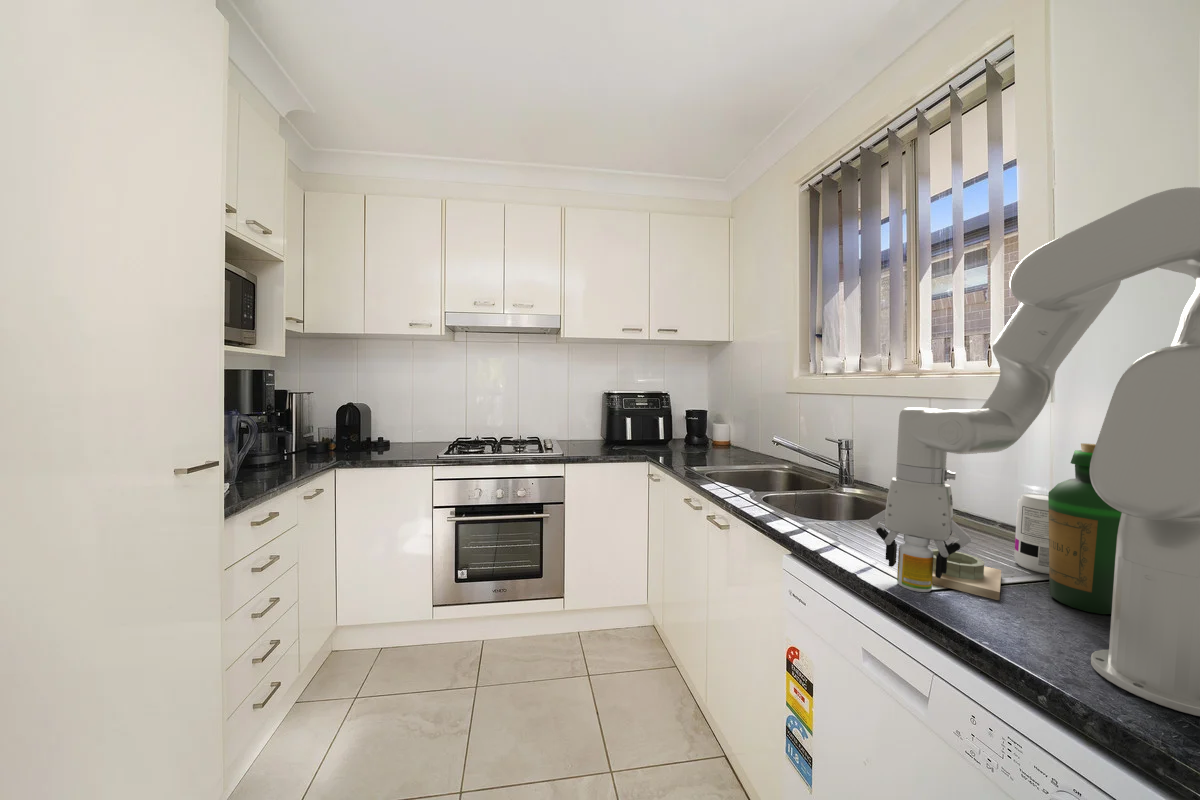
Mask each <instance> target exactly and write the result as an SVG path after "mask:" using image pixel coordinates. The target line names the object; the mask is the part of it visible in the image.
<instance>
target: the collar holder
mask: <svg viewBox="0 0 1200 800" xmlns="http://www.w3.org/2000/svg"><path fill="white" fill-rule="evenodd" d="M930 549H931V550H932V551H933V553H934V557H933V575H932V585H936V586H939V587H944V588H947V589H951V590H956V591H960V592H962V593H967V594H972V595H976V596H979V597H983V598H988V599H992V600H995V601H1000V598H1001V597H1000V593H1001V582H1002V581H1001V580H1002V569H998V568H995V567H990V566H987V565H986V566H985V561H984V560H982V559H981V558H979V557H976V556H974V555H971V554H968V553H965V552H962V551H961V552H960V551H956V552H954V553H952V554H950V555H949V556H948V557H947V572H946V574H945V573H942V575H941V578H937V577H935V574H936V557H937V554H938V552H939V550H938V548H930Z"/></svg>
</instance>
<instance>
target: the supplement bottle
mask: <svg viewBox="0 0 1200 800" xmlns="http://www.w3.org/2000/svg"><path fill="white" fill-rule="evenodd" d="M930 541H931V540H930V539H925V538H920V537H915V536H910V535H905V534H903V543H900V545H899V546H898V558H897V574H896V575H897V576H896V577H897V578H896V581H897V584H898V585H899V586H900V587H902V588H904V589H906V590H909V591H913V592H918V593H929V592H931V591H932V590H933V584H932V575H933V557H934V553H933V551H932V550H931V549H932V548H930V547H929V546H930Z"/></svg>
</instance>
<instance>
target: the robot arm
mask: <svg viewBox="0 0 1200 800" xmlns="http://www.w3.org/2000/svg"><path fill="white" fill-rule="evenodd" d="M1157 268H1158V269H1162V270H1167V271H1170V272H1175V273H1179V274H1184V275H1188V276H1190V277H1192V278H1193V279H1195V289H1194V291H1193V293H1192V295H1191V296H1190V298H1189V299H1188V301H1187V303H1186V304H1185V305H1184V308H1183V311H1182V313H1181V315H1180V318H1179V323H1178V325H1177V329H1176V332H1175V333H1174V336H1173V339H1172V342H1171V344H1170V346H1166V347H1162V348H1158V349H1157V350H1156V349H1155V350H1153V351H1151V352H1148V353H1146V354H1144V355H1142V357H1141V356H1140V357H1139V358H1138V359H1137V360H1135V361H1134V362H1132V364H1130V365H1129V367H1128V368H1127V369H1126V370H1125V372H1123V373H1122V375H1121V377H1120V378H1119V380H1118V381H1117V384H1116V386H1115V389H1114V390H1113V393H1112V396H1111V398H1110V402H1109V405H1108V408H1107V410H1106V414H1105V417H1104V420H1103V423H1102V425H1101V427H1100V428H1101V429H1100V431H1099V434H1098V437H1097V439H1096V443H1095V444H1096V446H1095V448H1094V452H1093V455H1092V458H1091V463H1090V480H1091V483H1092V486H1093V488H1094V489H1095V491H1096V493H1097V494H1098V495H1099V497H1100V498H1101V499H1102V500H1103V501H1104V502H1106V503H1107V504H1108V505H1109V506H1111V507H1112V508H1114V509H1116V510H1118V511H1120V512H1122V514H1121V518H1120V522H1119V527H1118V534H1117V544H1116V556H1115V571H1114V585H1113V599H1112V614H1110V615H1111V616H1110V627H1109V628H1110V630H1109V647H1108V649H1100V650H1095V651H1094V652H1092V653H1091V656H1090V665H1091V666H1092V668H1093V670H1095V671H1096V672H1097V673H1098V674H1099V675H1100V676H1101V677H1103V678H1104V679H1105V680H1107V681H1108V682H1110V683H1112V684H1113V685H1115V686H1117V687H1119V688H1120V689H1122V690H1124V691H1126V692H1128V693H1131V694H1133V695H1135V696H1137V697H1139V698H1142V699H1144V700H1147V701H1150V702H1152V703H1153V704H1154V703H1155V704H1158V705H1160V706H1162V707H1165V708H1169V709H1172V710H1174V711H1178V712H1181V713H1184V714H1187V715H1188V714H1189V715H1193V716H1196V717H1200V187H1199V186H1198V187H1194V186H1192V187H1191V186H1190V187H1189V186H1184V187H1177V188H1172V189H1167V190H1162V191H1160V192H1155V193H1153V194H1151V195H1148V196H1145V197H1142V198H1141V199H1138V200H1136V201H1134V202H1131V203H1130V204H1127V205H1125V206H1122V207H1120V208H1118V209H1116V210H1115V211H1112V212H1110V213H1108V214H1106V215H1104V216H1102V217H1100V218H1097V219H1096V220H1093V221H1091V222H1089V223H1087V224H1085V225H1082V226H1081V227H1078V228H1077V229H1073V230H1072V231H1070V232H1067V233H1066V234H1063V235H1061V236H1059V237H1057V238H1055V239H1053V240H1052V241H1051V240H1050V241H1049V242H1048V243H1045V244H1044V245H1041V246H1039V247H1038V248H1036V249H1035V250H1033V251H1031V252H1030V253H1029V254H1027V255H1026V256H1025V257H1024V258H1022V259H1021V261H1020V262H1019V263H1017V264H1016V266H1015V268H1014V269H1013V271H1012V272H1011V276H1010V279H1009V289H1010V292H1011V294H1012V296H1013V297H1014V298H1015V299H1016V300H1017V301H1018V302H1019V303H1020V304H1019V306H1018V307H1017V309H1016V310H1015V312H1014V313H1013V314H1012V316H1011V317H1010V318H1009V320H1008V322H1007V323H1006V325H1005V326H1004V327H1003V329H1002V330H1001V332H1000V333H999V335H998V336H997V338H996V339H995V340H994V342H993V344H992V348H991V349H992V352H993V354H994V357H995V359H996V361H997V364H998V365H999V366H998V367H999V376H998V377H999V378H998V381H997V384H996V386H995V388H994V389H993V391H992V392H991V394H990V396H989V397H988V398H987V400H986V401H985V403H983V405H982V406H981V407H980V408H966V409H964V408H961V409H956V408H955V409H945V410H943V409H940V408H934V407H933V408H931V407H905V408H903V409H901V411H900V413H899V416H898V432H897V433H898V434H897V446H896V447H897V450H896V471H895V476H894V477H892V478H891V481H890V484H889V487H888V491H887V497H886V503H885V504H886V505H885V509H884V510H882V511H880V512H878V513H877V514H875V515H873V516H871V517H870V518H869V519H868V523H869V524H870V526H871V527H872V528H873V529H874V530H875V532H876V534H877V535H878V536H879V537H880V538H881V539H882V540H883V543H884V544H885V560H886V561H888V567H891V568H893V567H894V566H895V565H896V563H897V551H898V550H897V549H898V544H897V542H896V540H895V539H896V538H897V537H898V535H899V534H900V535H904V534H905V535H910V536H915V537H920V538H925V539H930V541H934V543H935V546H936V549H938V550H939V552H938V554H937V557H936V574H935V577H937V578H941V575H942V573H945V574H946V572H947V557H948V556H949V555H950V554H952V553H954V552H956V551H957V552H959V550H960V549H962V548H964V547H966V546H967V545H968V544H970V543H971V542H972V540H973V539H972V537H971V535H970V534H968V533H967V532H966V531H965V530H964V529H963V528H962V527H961V526H959V524H958V523H956V522H955V521H954V519H953V517H954V515H953V514H954V511H953V510H954V508H953V507H954V506H953V502H954V501H953V493H952V488H951V485H950V484H948V483H946V482H948V481H950V480H953V481H955V480H956V477H957V475H956V472H952V471H950V470H949V469H947V457H948V456H947V455H948V453H950V454H954V455H955V454H956V455H976V454H986V453H987V454H989V453H992V454H993V453H999V452H1003V451H1004V450H1006V449H1008V448H1010V447H1012V446H1013V445H1014V444H1016V442H1017V441H1018V440H1019V439H1020V438H1022V436H1023V435H1024V434H1025V433H1026V431H1027V430H1028V429H1029V428H1030V426H1031V425H1032V424H1033V423H1034V422H1035V420H1036V419H1037V418H1038V416H1039V415H1040V414H1041V412H1042V410H1043V409H1044V407H1045V405H1046V403H1047V401H1048V399H1049V396H1050V394H1051V391H1052V388H1053V387H1054V382H1055V378H1056V375H1057V374H1056V373H1057V371H1058V369H1059V368H1060V366H1061V364H1062V363H1063V362H1064V361H1065V359H1066V358H1067V357H1068V355H1069V354H1070V353H1071V351H1073V348H1075V345H1076V344H1077V343H1078V342H1079V341H1080V339H1081V338H1082V337H1083V335H1084V334H1085V333H1086V332H1087V330H1088V329H1089V328H1090V327H1091V326H1092V324H1094V322H1095V321H1096V319H1098V317H1099V315H1100V314H1101V313H1102V311H1103V310H1104V309H1105V308H1106V307H1107V305H1108V304H1109V303H1110V301H1111V300H1112V299H1113V298H1114V296H1115V294H1116V293H1117V291H1118V290H1119V288H1120V287H1121V281H1124V280H1127V279H1129V278H1130V279H1131V278H1133V277H1135V276H1137V275H1140V274H1143V273H1146V272H1148V271H1151V270H1155V269H1157ZM883 520H884V526H885V528H884V526H883V525H882V524H881V523H880V522H881V521H883ZM888 530H889V532H888ZM952 533H954V535H955V536H957V537H958V539H956V540H954V541H953V542H951V543H949V544H948V543H947V541H949V539H950V536H952Z"/></svg>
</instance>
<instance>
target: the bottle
mask: <svg viewBox="0 0 1200 800" xmlns="http://www.w3.org/2000/svg"><path fill="white" fill-rule="evenodd" d="M1095 446H1096V443H1080V448H1081V449H1080V450H1078V449H1076V450H1075V449H1074V452H1073V455H1072V458H1071V461H1070V464H1072V465H1074V473H1075V474H1074V475H1075V478H1068V479H1067V480H1064V481H1062V482H1058V483H1057V484H1056V485H1055V486H1053V488H1052V489H1051V490H1050V491H1049V492H1047V495H1048V507H1049V574H1048V576H1049V577H1048V579H1049V581H1048V582H1049V595H1050V596H1051V597H1052V598H1053V599H1055V600H1056V601H1058V602H1059V603H1060V604H1062V605H1065V606H1067V607H1070V608H1072V609H1076V610H1079V611H1083V612H1086V613H1092V614H1098V615H1111V614H1112V599H1113V585H1114V571H1115V556H1116V544H1117V534H1118V527H1119V522H1120V518H1121V514H1122V512H1120V511H1118V510H1116V509H1114V508H1112V507H1111V506H1109V505H1108V504H1107V503H1106V502H1104V501H1103V500H1102V499H1101V498H1100V497H1099V495H1098V494H1097V493H1096V491H1095V489H1094V488H1093V486H1092V483H1091V480H1090V463H1091V458H1092V455H1093V452H1094V448H1095Z"/></svg>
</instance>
